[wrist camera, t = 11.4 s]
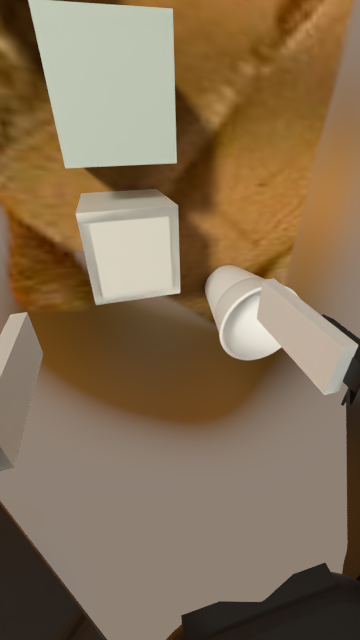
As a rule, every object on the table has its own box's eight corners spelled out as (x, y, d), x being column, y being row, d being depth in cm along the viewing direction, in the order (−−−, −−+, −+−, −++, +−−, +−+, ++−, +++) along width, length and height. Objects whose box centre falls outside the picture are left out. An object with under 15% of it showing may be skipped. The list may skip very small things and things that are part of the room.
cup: (195, 250, 36) (228, 287, 27) (263, 250, 38) (314, 283, 29) (188, 316, 41) (214, 365, 32) (248, 312, 43) (288, 356, 34)
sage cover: (147, 53, 24) (172, 8, 16) (153, 157, 29) (176, 163, 21) (51, 49, 23) (27, -2, 15) (74, 160, 27) (65, 168, 19)
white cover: (156, 188, 31) (178, 205, 22) (160, 257, 35) (180, 293, 27) (81, 193, 29) (75, 213, 21) (95, 265, 33) (95, 305, 25)
